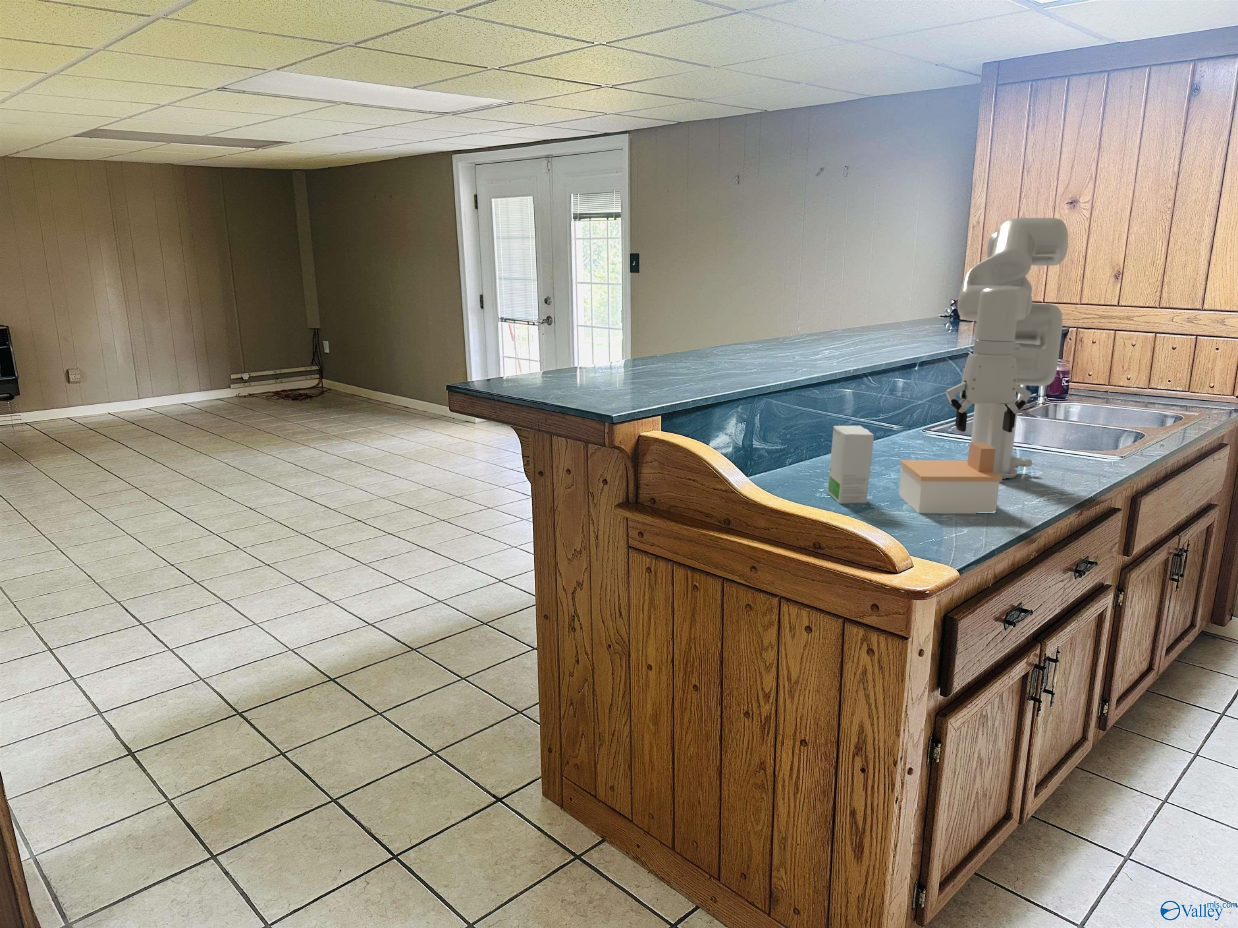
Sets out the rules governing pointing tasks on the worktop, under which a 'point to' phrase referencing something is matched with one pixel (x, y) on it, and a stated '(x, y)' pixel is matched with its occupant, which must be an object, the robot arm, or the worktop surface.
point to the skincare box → (850, 464)
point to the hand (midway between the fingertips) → (983, 430)
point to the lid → (957, 466)
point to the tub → (948, 495)
